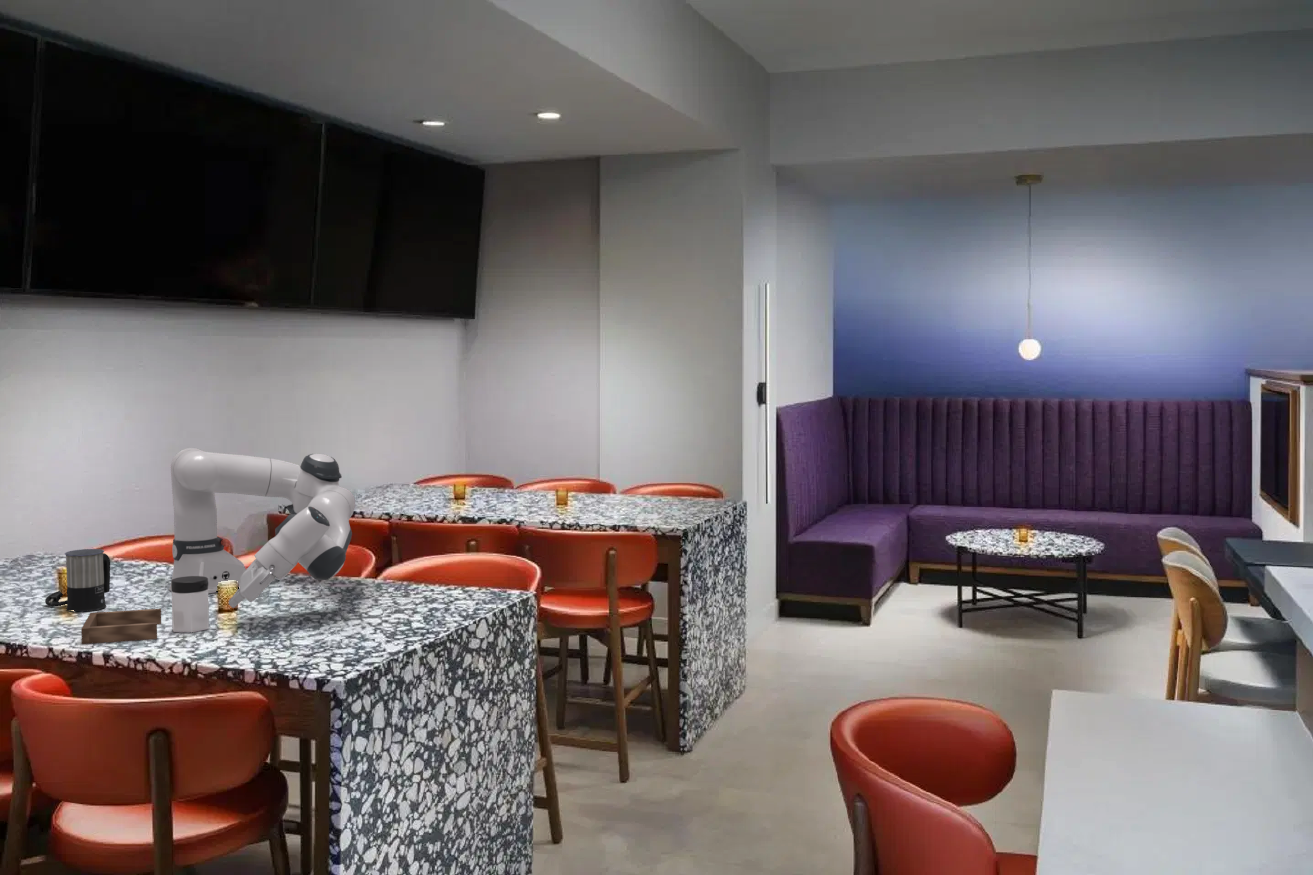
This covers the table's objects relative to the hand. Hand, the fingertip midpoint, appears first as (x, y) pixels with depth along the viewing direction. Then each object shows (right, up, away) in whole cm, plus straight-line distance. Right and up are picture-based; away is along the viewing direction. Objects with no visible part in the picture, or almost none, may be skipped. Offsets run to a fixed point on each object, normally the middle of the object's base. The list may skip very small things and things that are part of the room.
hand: (230, 604), depth 275 cm
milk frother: (-47, -4, +20) cm, 51 cm away
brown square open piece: (-22, -5, -7) cm, 24 cm away
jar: (-8, -5, -3) cm, 11 cm away
